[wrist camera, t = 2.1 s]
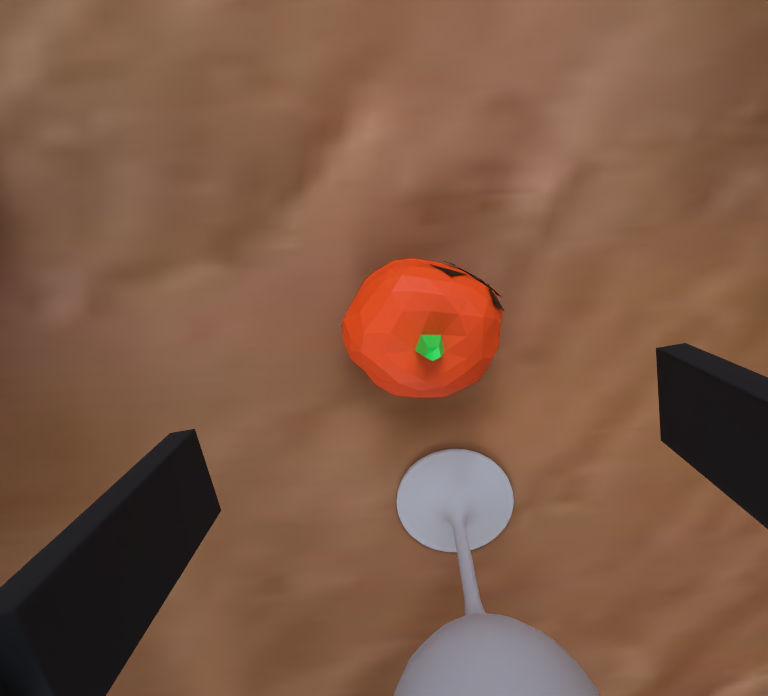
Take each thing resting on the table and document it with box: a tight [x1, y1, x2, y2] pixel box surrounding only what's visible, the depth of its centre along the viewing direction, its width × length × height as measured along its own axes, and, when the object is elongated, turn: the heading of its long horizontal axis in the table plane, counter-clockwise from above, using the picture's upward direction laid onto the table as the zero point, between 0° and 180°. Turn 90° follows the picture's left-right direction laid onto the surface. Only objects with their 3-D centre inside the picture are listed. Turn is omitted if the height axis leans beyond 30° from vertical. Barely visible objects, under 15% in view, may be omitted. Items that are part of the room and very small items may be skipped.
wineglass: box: [393, 449, 600, 696], centre depth 19 cm, size 8×8×21 cm
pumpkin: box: [341, 258, 504, 398], centre depth 23 cm, size 7×8×6 cm
